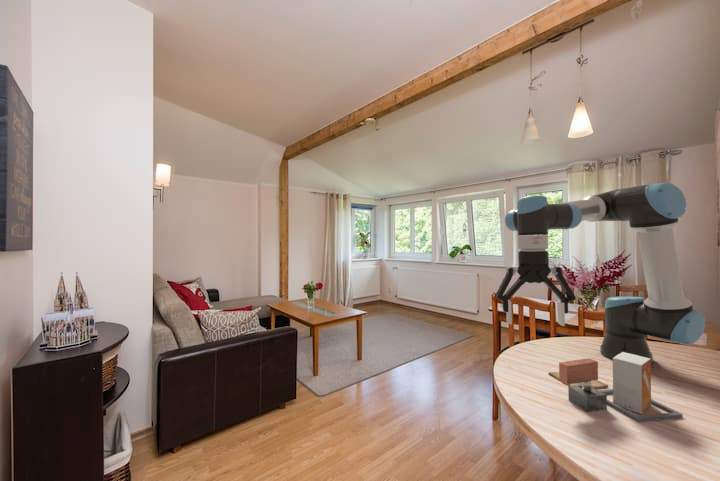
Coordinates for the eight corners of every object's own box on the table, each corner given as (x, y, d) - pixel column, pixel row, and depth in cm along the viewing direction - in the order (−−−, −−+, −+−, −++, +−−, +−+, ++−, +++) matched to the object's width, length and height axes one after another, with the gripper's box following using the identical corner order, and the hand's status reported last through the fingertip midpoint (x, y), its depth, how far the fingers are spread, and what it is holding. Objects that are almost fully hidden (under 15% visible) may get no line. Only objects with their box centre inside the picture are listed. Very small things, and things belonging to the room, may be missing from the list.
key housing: (587, 398, 87) (587, 383, 87) (606, 409, 81) (606, 394, 81) (568, 399, 86) (568, 385, 86) (586, 411, 80) (586, 396, 80)
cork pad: (577, 371, 104) (577, 370, 104) (607, 387, 93) (607, 385, 93) (548, 374, 102) (548, 372, 102) (575, 390, 91) (575, 388, 91)
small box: (643, 415, 78) (642, 365, 78) (612, 404, 83) (611, 357, 83) (652, 405, 82) (651, 358, 82) (622, 395, 88) (621, 351, 88)
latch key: (559, 391, 83) (559, 362, 83) (589, 386, 85) (589, 358, 85) (567, 395, 80) (567, 366, 80) (598, 390, 83) (597, 361, 83)
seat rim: (627, 390, 91) (627, 387, 91) (682, 417, 77) (682, 414, 77) (588, 393, 89) (588, 391, 89) (638, 422, 75) (638, 418, 75)
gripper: (489, 251, 85) (491, 326, 85) (589, 250, 80) (591, 329, 80) (484, 250, 93) (486, 319, 93) (575, 249, 87) (577, 321, 87)
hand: (534, 324), depth 86 cm, fingers open, 13 cm apart
